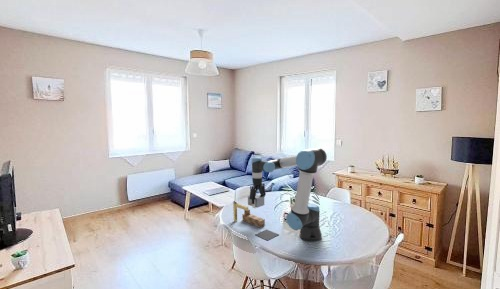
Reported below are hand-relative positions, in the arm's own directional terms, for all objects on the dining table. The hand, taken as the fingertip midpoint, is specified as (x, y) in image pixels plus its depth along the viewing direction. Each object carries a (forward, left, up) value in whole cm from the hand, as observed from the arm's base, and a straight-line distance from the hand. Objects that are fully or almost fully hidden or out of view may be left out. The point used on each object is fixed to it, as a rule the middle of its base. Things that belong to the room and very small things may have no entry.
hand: (258, 206), depth 205 cm
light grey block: (+2, 0, +1) cm, 2 cm away
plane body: (+6, 0, -15) cm, 16 cm away
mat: (-16, +8, -15) cm, 24 cm away
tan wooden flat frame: (+11, +8, -15) cm, 20 cm away
